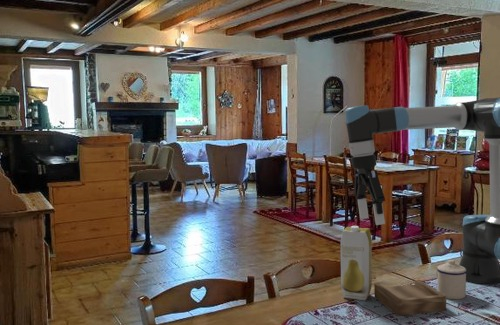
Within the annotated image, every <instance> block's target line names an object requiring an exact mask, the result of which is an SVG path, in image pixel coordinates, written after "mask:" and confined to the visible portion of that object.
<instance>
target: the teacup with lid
mask: <svg viewBox="0 0 500 325" xmlns="http://www.w3.org/2000/svg"><path fill="white" fill-rule="evenodd" d="M466 272H467V271H466V269H465V268H464V267H462V266H460V265H459V264H458V263H456V261H455V260H454V259H449V260H448V261H447V262H446V263H444V264H443V263H442V264H439V265H438V266H437V268H436V271H435V274H436V276H435V277H436V279H437V291H438V292H440V293H442V294H443V295H445V296H446V299H447V300H463V299H464V298H466V294H467V292H466V290H467V289H466V287H467V281H466Z"/></svg>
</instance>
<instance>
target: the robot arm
mask: <svg viewBox="0 0 500 325" xmlns="http://www.w3.org/2000/svg"><path fill="white" fill-rule="evenodd" d="M344 114H345V115H344V116H345V117H344V118H345V125H346V131H347V136H348V143H349V144H348V145H349V146H348V148H347V149H348V150H349V151H350V156H351V166H352V167H351V168H352V169H354V170H353V172H354V186H353V187H354V188H353V189H354V190H353V191H354V195H353V196H354V197H355V198H356V200H357V206H358V213H359V220H363V219H369V211H368V203H367V202H368V201H367V195H366V191H367V190H368V192H369V194H370V197H371V199H372V202H371V204H372V209H373V215H374V222H375V225H376V226H379V225H380V226H381V225H386V220H385V214H384V213H385V212H384V205H383V203H384V202H385V201H386V198H385V194H384V191H383V188H382V186H381V183H380V182H381V181H380V180H379V176H378V171H377V170H376V169H375V170H373V167H376V166H377V157H376V154H375V152H376V150H375V149H376V148H375V142H374V137H373V135H377V134H385V133H392V132H400V131H403V130H406V131H407V130H425V129H426V130H427V129H428V130H429V129H447V128H448V129H450V128H452V129H453V128H454V129H455V130H457V131H475V132H482V133H483V136H484V137H483V138H484V140H485V142H487V143H488V145H489V214H470V215H469V214H468V215H465V216H464V217H463V220H462V255H461V258H460V260H459V264H458V265H460V266H462V267H464V268H465V269H466V271H467V272H466V282H469V283H475V284H483V285H485V284H486V285H491V284H492V285H493V284H498V283H500V262H499V261H500V97H492V98H491V97H490V98H488V97H487V98H482V99H477V100H472V101H465V102H457V103H455V104H454V105H444V106H442V105H441V106H440V105H439V106H423V107H421V106H420V107H416V106H415V107H404V106H397V107H396V106H394V107H389V108H387V107H386V108H377V109H376V108H369V105H367V104H366V105H365V104H364V105H357V106H352V107H348V108H346V109H345V112H344Z"/></svg>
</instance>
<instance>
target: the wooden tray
mask: <svg viewBox="0 0 500 325" xmlns="http://www.w3.org/2000/svg"><path fill="white" fill-rule="evenodd" d="M373 287H374V292H373V293H374V294H373V295H374V298H375V299H376V300H377V301H379V302H380V303H381V304H383V306H384V307H386V308H387V309H388V310H389V311H391V312H392V313H393V314H394V315H396V316H398V317H400V316H405V315H417V314H425V313H437V312H444V311H447V298H446V296H445V295H443V294H442V293H440V292H438V289H437V290H436V288H434V287H432V286H430V285H428V284H427V283H425V282H424V281H422V280H420V279H414V284H407V285H395V286H393V285H392V286H386V287H385V286H383V285H382V284H380V283H374V286H373Z"/></svg>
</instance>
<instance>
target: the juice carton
mask: <svg viewBox="0 0 500 325" xmlns="http://www.w3.org/2000/svg"><path fill="white" fill-rule="evenodd" d="M372 248H373V247H372V234H371V230H370V227H369V228H368V227H359V225H352V226H346V227H345V228H344V229H342V230H341V237H340V286H341V287H340V288H341V293H342V297H343V298H345V299H351V300H359V301H366V300H367V299H368V298H369V296H370V295H371V291H372V284H373V283H372V282H373V281H372V276H373V275H372V274H373V270H372V269H373V268H372V266H373V264H372V262H373V261H372V260H373V258H372V254H373V253H372V251H373V250H372Z"/></svg>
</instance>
